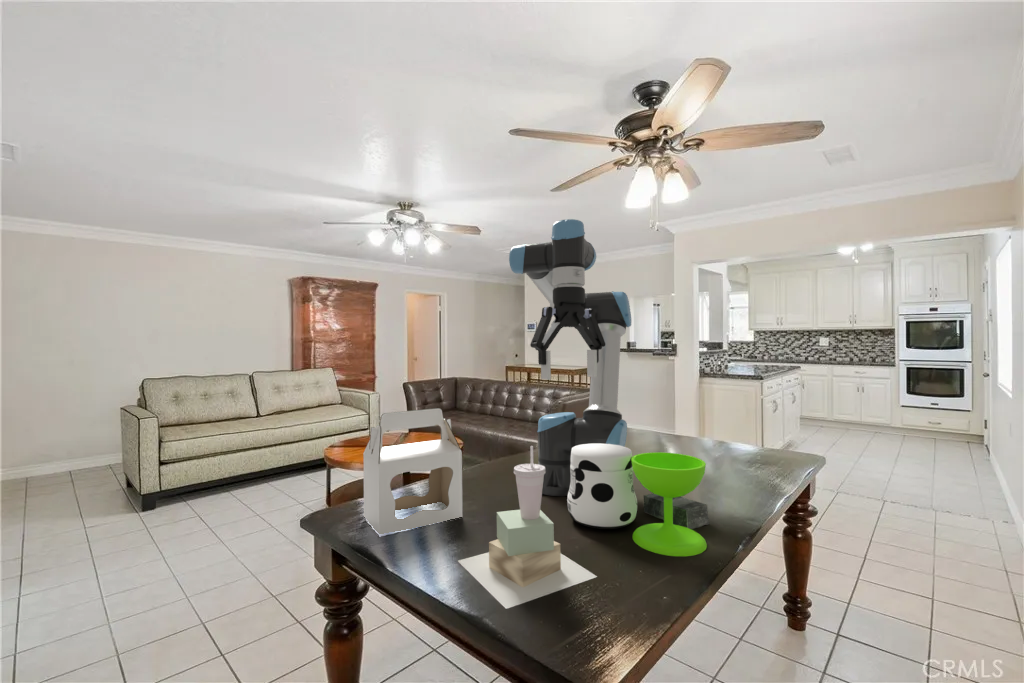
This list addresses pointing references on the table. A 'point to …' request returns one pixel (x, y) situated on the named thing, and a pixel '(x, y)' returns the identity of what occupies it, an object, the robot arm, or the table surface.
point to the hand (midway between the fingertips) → (569, 378)
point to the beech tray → (524, 563)
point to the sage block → (524, 533)
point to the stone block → (678, 510)
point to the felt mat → (515, 594)
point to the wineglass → (669, 501)
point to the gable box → (412, 457)
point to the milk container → (602, 486)
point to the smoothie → (529, 488)
